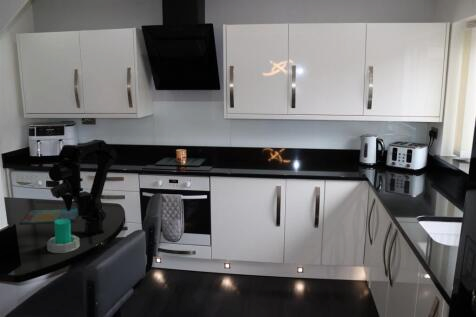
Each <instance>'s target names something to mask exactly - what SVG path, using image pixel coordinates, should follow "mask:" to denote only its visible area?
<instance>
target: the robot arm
mask: <svg viewBox="0 0 476 317" xmlns="http://www.w3.org/2000/svg"><path fill="white" fill-rule="evenodd" d="M89 153H93V154H94V155H95V161H96V165H97V167H96V171H95V174H94V177H93V178H94V179H93V182H92V185H91V188H90V191H85V190H84V188H83V187H82V183H81V182H83V180H84V179H83V178H82V177H81V165H82V164H84V161H83V160H82V159H83V158H85V155H87V154H89ZM117 153H118V152H116V150H115V149H114V148H113V146H111V145H109V144H107V143H106V141H105V140H103V139H93V140H90V141H88V142H84V143H79V144H64V145H63V146H62V148H61V149H60V151H59V154H58V157H57V159H56V162H55V163H53V164H52V167H50V169H49V172H48V176H49V179H50V181H53V182H56V183H57V182H61V181H62V182H61V183H59V184H57V185H55V186H53V187H51V188H50V193H51V195H52V197H53V198H56V199H60V198H61V199H62V201H63V203H64V204H63V205H64V206H65V210H67V211H70V209H72V205H73V203H74V204H75V205H76V208H77V211H78V215H77V217H81V219H82V220H85V223H84V231H83V232H84V233H85V234H88V235H89V236H91V237H92V236H96V235H98V234H99V235H100V234H103V233H105V230H104V228H103V221H105V220H106V216H107V213H106V212H105V211H104V209H103V203H102V202H103V201H102V200H101V199H102V196H103V191H104V187H105V184H106V180H107V176H108V173H109V170H110V168H111V167H112V166H114V164H115V162H116V159H117V156H118V154H117Z"/></svg>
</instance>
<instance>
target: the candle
mask: <svg viewBox="0 0 476 317" xmlns="http://www.w3.org/2000/svg"><path fill="white" fill-rule="evenodd" d="M53 224H54V237H55V244H66V243H69V242H71V235H72V231H71V230H72V229H71V226H72V225H71V222H70V220H69V219H63V218H62V219H59V220H56V221H54V223H53Z"/></svg>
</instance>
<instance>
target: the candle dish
mask: <svg viewBox="0 0 476 317" xmlns="http://www.w3.org/2000/svg"><path fill="white" fill-rule="evenodd" d="M46 246H47V250H46V251H48V252H49V253H51V254H52V253H53V254H65V253H70V252H74V251H75V250H77V249H79V248H80V246H81V245H80V237H78V236H76V235H74V234H71V242H69V243H66V244H55V236H54V237H51V238H50V239H49V240H48V241H46Z"/></svg>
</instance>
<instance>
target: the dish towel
mask: <svg viewBox="0 0 476 317" xmlns="http://www.w3.org/2000/svg"><path fill="white" fill-rule="evenodd" d="M77 217H78V211H77V207H75V208H71V209H70V211H67V209H43V210H42V209H41V210H39V209H37V210H34V209H33V210H30V211H29V212H28V213H27V215H26V216H25V217H24V218H23V219H22V221H21V225H37V224H38V225H39V224H40V225H41V224H54V221H56V220H59V219H62V218H63V219H69V220H70V223H73V222H76V219H77Z"/></svg>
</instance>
